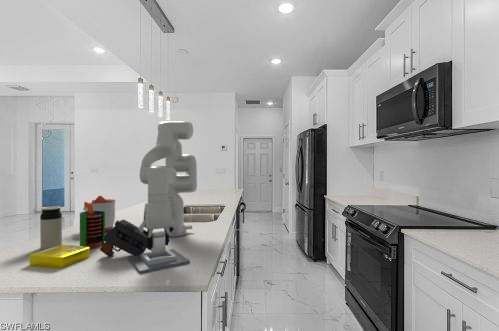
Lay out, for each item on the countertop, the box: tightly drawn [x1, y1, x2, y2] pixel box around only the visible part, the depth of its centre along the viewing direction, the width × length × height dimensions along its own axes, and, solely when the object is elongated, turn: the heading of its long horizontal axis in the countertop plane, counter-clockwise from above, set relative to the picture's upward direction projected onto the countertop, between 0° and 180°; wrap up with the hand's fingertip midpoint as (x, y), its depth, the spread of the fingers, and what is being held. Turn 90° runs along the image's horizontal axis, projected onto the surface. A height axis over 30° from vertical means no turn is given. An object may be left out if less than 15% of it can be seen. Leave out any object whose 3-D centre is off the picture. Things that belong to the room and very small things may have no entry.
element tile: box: [29, 244, 91, 270], centre depth 111 cm, size 15×15×5 cm
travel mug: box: [39, 205, 63, 250], centre depth 129 cm, size 8×8×18 cm
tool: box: [99, 219, 151, 258], centre depth 117 cm, size 6×19×15 cm, turn 95°
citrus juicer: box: [82, 195, 116, 233], centre depth 161 cm, size 16×17×20 cm
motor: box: [79, 201, 106, 250], centre depth 130 cm, size 10×9×20 cm
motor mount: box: [128, 249, 191, 274], centre depth 110 cm, size 18×18×2 cm
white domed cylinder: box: [150, 230, 166, 253], centre depth 110 cm, size 5×5×7 cm
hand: (158, 245), depth 110 cm, fingers closed on white domed cylinder, 5 cm apart
